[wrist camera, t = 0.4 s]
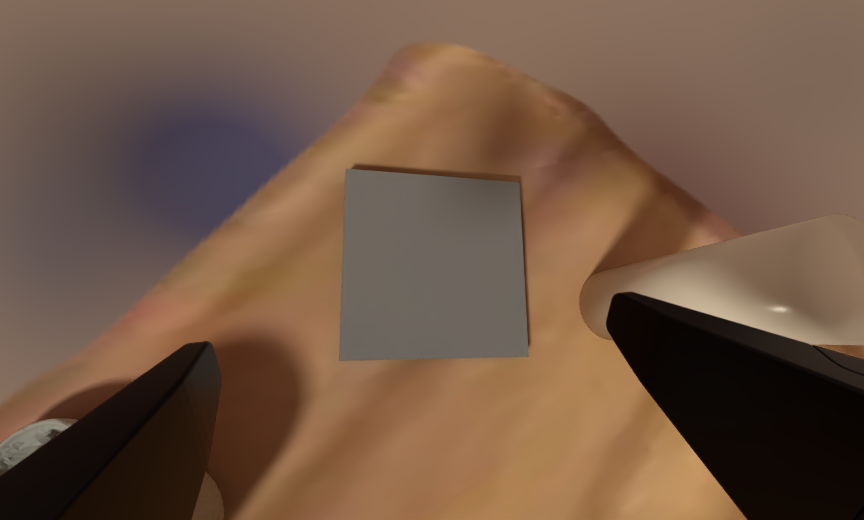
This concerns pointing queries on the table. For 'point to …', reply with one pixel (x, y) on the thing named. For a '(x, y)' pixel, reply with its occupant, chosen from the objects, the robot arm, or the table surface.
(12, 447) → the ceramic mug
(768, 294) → the frosted tapered cylinder
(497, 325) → the slate coaster
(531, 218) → the table surface
